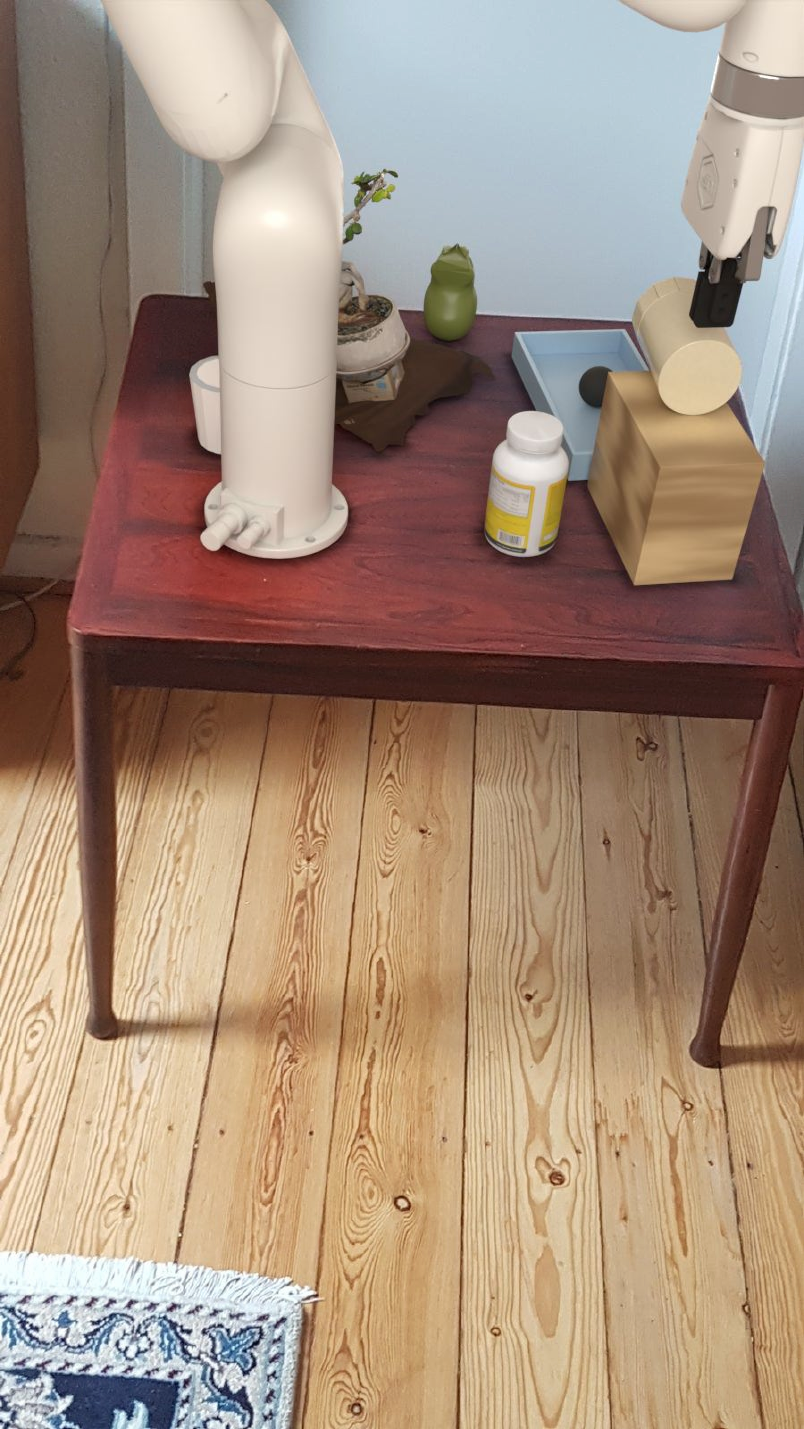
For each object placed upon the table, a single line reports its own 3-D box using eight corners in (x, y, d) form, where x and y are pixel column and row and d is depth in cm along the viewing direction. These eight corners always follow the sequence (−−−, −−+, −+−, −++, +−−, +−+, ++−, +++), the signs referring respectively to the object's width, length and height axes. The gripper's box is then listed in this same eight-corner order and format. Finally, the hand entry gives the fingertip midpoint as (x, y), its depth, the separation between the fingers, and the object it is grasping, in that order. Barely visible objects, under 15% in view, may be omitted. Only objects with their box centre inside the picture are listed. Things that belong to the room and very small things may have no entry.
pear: (475, 329, 154) (486, 240, 147) (469, 352, 150) (479, 263, 144) (424, 321, 155) (432, 233, 148) (417, 345, 151) (424, 255, 144)
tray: (689, 475, 136) (696, 449, 134) (568, 481, 134) (572, 454, 132) (620, 353, 152) (625, 328, 150) (511, 357, 150) (514, 331, 148)
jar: (733, 328, 116) (702, 265, 124) (649, 358, 117) (624, 294, 125) (749, 398, 120) (718, 334, 128) (668, 426, 122) (642, 361, 130)
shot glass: (231, 467, 132) (229, 400, 127) (176, 439, 135) (173, 373, 130) (279, 437, 136) (280, 372, 131) (226, 411, 139) (224, 345, 134)
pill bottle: (556, 521, 129) (575, 409, 121) (555, 564, 124) (575, 450, 116) (484, 513, 129) (499, 400, 121) (480, 556, 125) (495, 441, 117)
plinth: (732, 579, 125) (765, 462, 116) (633, 585, 123) (660, 467, 115) (678, 482, 135) (705, 368, 127) (586, 486, 134) (607, 371, 125)
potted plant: (392, 484, 136) (318, 238, 119) (248, 453, 146) (162, 224, 130) (504, 372, 146) (450, 131, 129) (361, 351, 156) (295, 125, 140)
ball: (603, 376, 139) (604, 351, 141) (569, 396, 141) (571, 371, 144) (627, 402, 141) (627, 377, 144) (593, 422, 143) (594, 396, 146)
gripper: (682, 48, 106) (638, 279, 119) (752, 127, 96) (695, 372, 108) (777, 49, 108) (723, 278, 120) (857, 127, 97) (788, 369, 109)
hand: (710, 322), depth 114 cm, fingers closed
